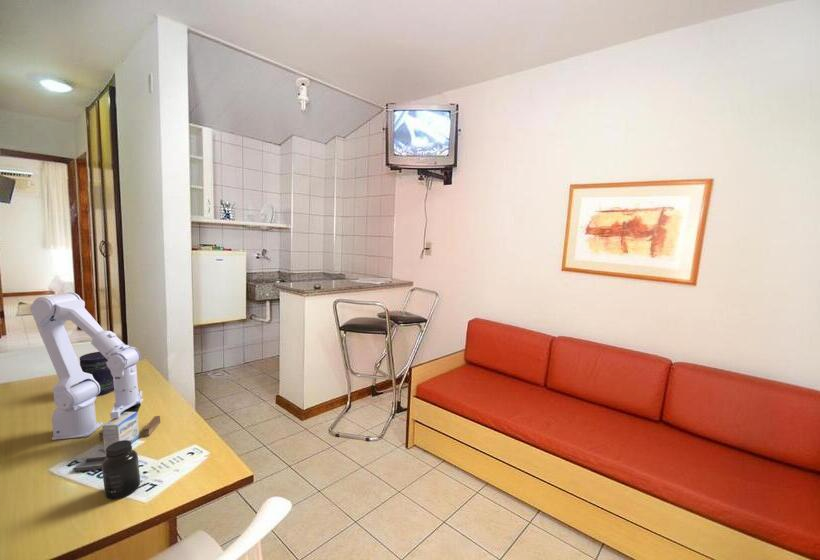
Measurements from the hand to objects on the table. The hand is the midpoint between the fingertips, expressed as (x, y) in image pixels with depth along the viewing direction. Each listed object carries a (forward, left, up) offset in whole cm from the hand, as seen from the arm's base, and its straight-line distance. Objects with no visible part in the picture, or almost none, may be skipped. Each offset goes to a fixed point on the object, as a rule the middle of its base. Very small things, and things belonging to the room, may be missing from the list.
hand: (129, 428), depth 111 cm
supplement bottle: (+11, -28, -2) cm, 30 cm away
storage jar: (-26, +35, -2) cm, 44 cm away
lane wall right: (+6, +1, -2) cm, 6 cm away
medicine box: (+1, -7, -2) cm, 7 cm away
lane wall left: (-6, +1, -2) cm, 6 cm away
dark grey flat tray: (0, -16, -2) cm, 16 cm away
